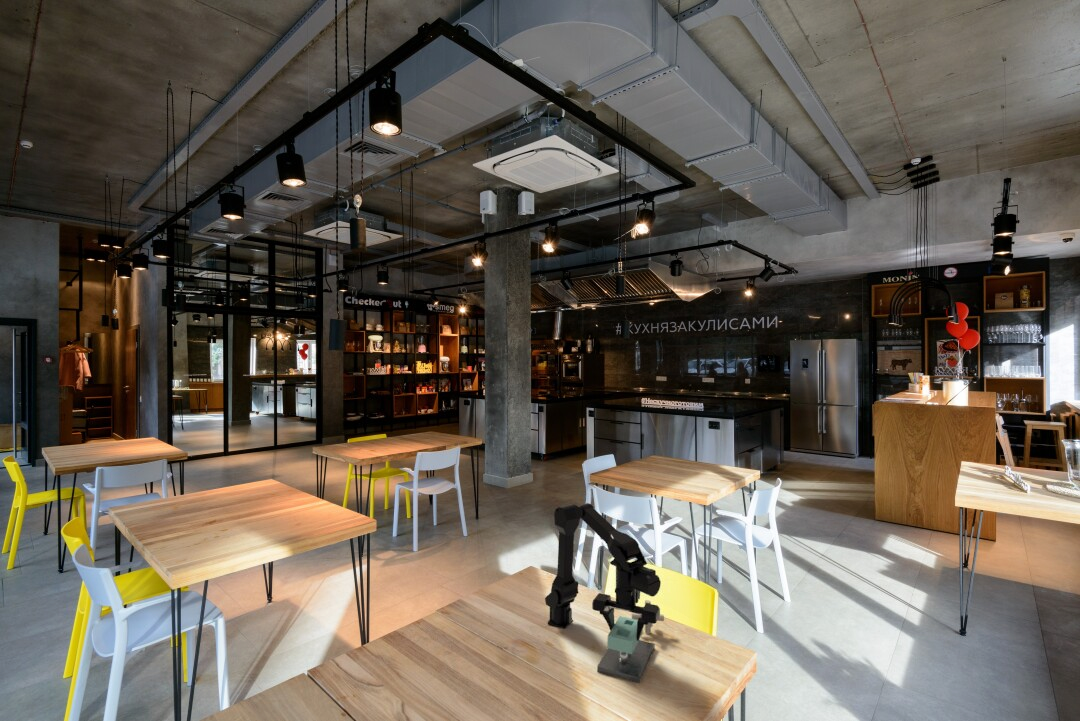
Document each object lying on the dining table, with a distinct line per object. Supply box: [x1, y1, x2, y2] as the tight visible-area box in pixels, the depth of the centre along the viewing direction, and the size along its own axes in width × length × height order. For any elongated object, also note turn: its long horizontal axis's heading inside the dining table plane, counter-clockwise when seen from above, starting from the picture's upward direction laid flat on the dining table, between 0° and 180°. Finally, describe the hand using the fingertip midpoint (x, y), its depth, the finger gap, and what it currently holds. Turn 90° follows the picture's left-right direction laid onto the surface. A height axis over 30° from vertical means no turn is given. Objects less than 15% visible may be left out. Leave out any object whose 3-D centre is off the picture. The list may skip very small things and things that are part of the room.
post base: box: [596, 639, 656, 684], centre depth 148 cm, size 12×18×4 cm, turn 154°
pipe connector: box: [631, 599, 665, 635], centre depth 162 cm, size 10×10×10 cm
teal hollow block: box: [607, 615, 644, 654], centre depth 147 cm, size 12×7×4 cm, turn 154°
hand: (625, 636), depth 147 cm, fingers closed on teal hollow block, 7 cm apart
